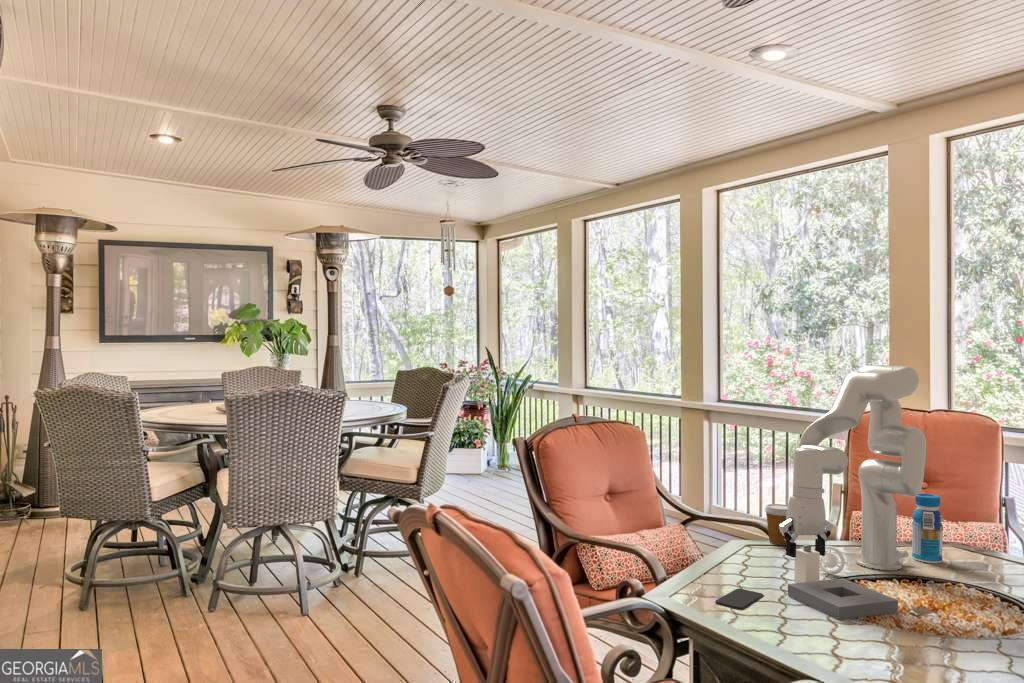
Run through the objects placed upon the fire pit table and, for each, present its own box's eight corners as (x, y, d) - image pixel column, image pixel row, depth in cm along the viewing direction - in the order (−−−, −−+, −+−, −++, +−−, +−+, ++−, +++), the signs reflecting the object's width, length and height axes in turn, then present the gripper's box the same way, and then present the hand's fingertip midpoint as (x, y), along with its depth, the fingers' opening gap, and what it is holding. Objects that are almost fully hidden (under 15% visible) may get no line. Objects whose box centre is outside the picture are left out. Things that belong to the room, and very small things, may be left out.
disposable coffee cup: (789, 547, 240) (790, 510, 240) (760, 542, 246) (760, 506, 246) (798, 542, 248) (798, 506, 248) (769, 537, 254) (770, 502, 254)
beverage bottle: (905, 558, 230) (905, 493, 231) (923, 555, 234) (924, 492, 234) (930, 565, 223) (931, 498, 223) (949, 562, 226) (949, 497, 227)
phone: (765, 593, 192) (742, 608, 181) (765, 597, 192) (742, 611, 181) (737, 587, 197) (713, 601, 186) (737, 590, 197) (713, 604, 186)
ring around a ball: (846, 575, 211) (846, 547, 211) (841, 580, 207) (841, 551, 207) (817, 569, 216) (817, 542, 216) (811, 574, 212) (811, 546, 212)
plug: (807, 580, 206) (808, 542, 206) (819, 585, 201) (819, 546, 202) (794, 581, 204) (794, 543, 204) (805, 586, 200) (806, 547, 200)
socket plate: (843, 589, 198) (843, 578, 198) (897, 612, 181) (897, 600, 181) (787, 595, 192) (787, 583, 192) (838, 619, 175) (838, 607, 175)
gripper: (823, 490, 209) (821, 550, 209) (772, 491, 204) (770, 553, 203) (842, 494, 202) (841, 557, 202) (790, 496, 197) (788, 560, 196)
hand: (805, 555), depth 203 cm, fingers open, 9 cm apart
